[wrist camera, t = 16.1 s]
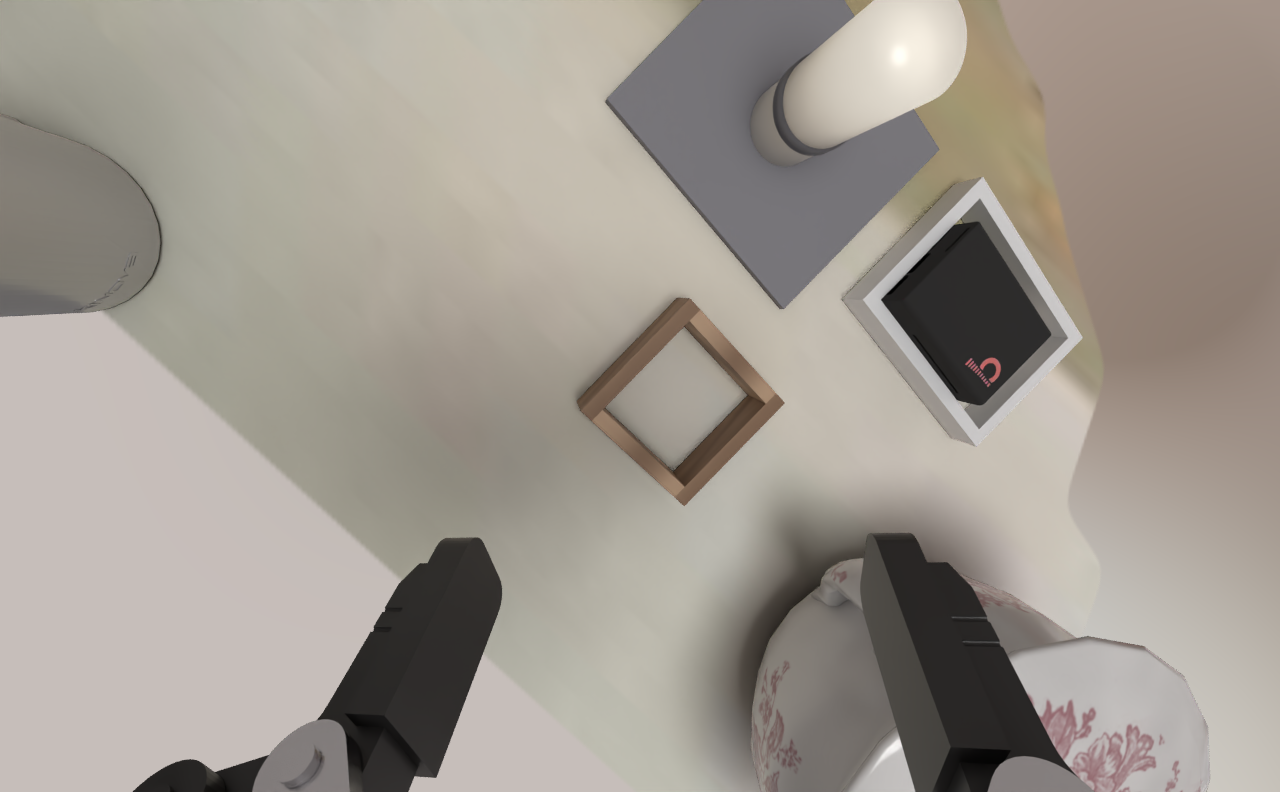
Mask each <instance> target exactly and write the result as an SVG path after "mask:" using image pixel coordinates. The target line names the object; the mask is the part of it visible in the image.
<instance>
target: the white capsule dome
mask: <svg viewBox="0 0 1280 792" xmlns="http://www.w3.org/2000/svg"><path fill="white" fill-rule="evenodd" d="M966 44H967V30H966V22H965V17H964V14H963V11H962V8H961V6H960V4H959V1H958V0H874V1H873V2H871V3H870V4H869V5H868V6H867V7H865V8H864V9H863V10H862V11H861V12H860V13H858V14H857V15H856V16H855V17H854V18H852V19H851V20H850V21H849V22H848V23H846V24H845V25H844V26H843V27H842V28H841V29H839V30H838V31H837V32H836V33H835V34H833V35H832V36H831V37H830V38H829V39H828V40H826V41H825V42H824V43H823V44H822V45H820V46H819V47H818V48H817V49H816V50H814V51H813V52H812V53H810V54H807V55H805V56H804V57H802V58H801V59H800V60H798V61H797V62H796V63H795V64H794V65H793V66H791V67H790V68H789V69H788V70H787V71H786V72H785V73H784V74H783V76H782V77H781V79H780V80H779V81H778V82H777V83H775V84H774V85H773V86H772V87H771V88H769V89H768V90H767V91H766V92H765V93H764V94H762V96H761V97H760V98H759V99H758V101H757V102H756V104H755V106H754V109H753V111H752V115H751V122H750V129H751V136H752V140H753V143H754V145H755V147H756V149H757V151H758V152H759V153H760V155H761V156H762V157H763V158H764V159H765V160H767V161H768V162H770V163H772V164H774V165H777V166H792V165H796V164H798V163H800V162H802V161H804V160H806V159H808V158H810V157H813V156H817V155H822V154H825V153H827V152H829V151H831V150H834V149H836V148H838V147H840V146H841V145H843V144H844V143H845V142H846V141H848V140H849V139H851V138H853V137H855V136H857V135H859V134H862V133H864V132H866V131H868V130H870V129H872V128H874V127H876V126H879V125H881V124H883V123H885V122H887V121H889V120H891V119H894V118H896V117H898V116H900V115H902V114H904V113H906V112H908V111H911V110H913V109H915V108H917V107H919V106H921V105H923V104H925V103H928V102H930V101H932V100H934V99H936V98H937V97H939V96H940V95H942V94H943V93H944V92H945V91H946V90H947V89H948V88H949V87H950V86H951V84H952V83H953V81H954V80H955V79H956V77H957V75H958V73H959V71H960V69H961V66H962V63H963V60H964V57H965V52H966Z"/></svg>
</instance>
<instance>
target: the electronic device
mask: <svg viewBox="0 0 1280 792" xmlns="http://www.w3.org/2000/svg"><path fill="white" fill-rule="evenodd" d="M881 301H882V302H883V304H884V305H885V306H886V307H887V309H888V310H889V311H890V313H891V314H892V315H893V317H894V318H895V319H896V321H897V322H898V323H899V325H900V326H901V327H902V329H903V330H904V331H905V332H906V334H907V335H908V336H909V338H910V339H911V340H912V342H913V343H914V344H915V346H916V347H917V348H918V350H919V351H920V352H921V354H922V355H923V356H924V358H925V359H926V360H927V361H928V363H929V364H930V365H931V367H932V368H933V369H934V371H935V372H936V373H937V375H938V376H939V377H940V379H941V380H942V381H943V383H944V384H945V385H946V386H947V388H948V389H949V390H950V392H951V393H952V394H953V396H954V397H955V398H956V400H959V401H963V402H966V403H970V404H974V405H979V406H980V405H983V404H985V403H986V402H987V401H988V400H989V399H990V398H991V397H992V396H993V395H994V394H995V393H996V391H997V390H998V389H999V388H1000V387H1001V386H1002V385H1003V384H1004V383H1005V382H1006V381H1007V380H1008V379H1009V378H1010V377H1011V376H1012V375H1013V374H1014V373H1015V372H1016V371H1017V370H1018V369H1019V368H1020V367H1021V366H1022V365H1023V364H1024V363H1025V362H1026V361H1027V360H1028V359H1029V358H1030V357H1031V356H1032V355H1033V354H1034V353H1035V352H1036V351H1037V350H1038V349H1039V348H1040V347H1041V346H1042V345H1043V344H1044V343H1045V342H1046V341H1047V339H1048V338H1049V337H1050V336H1051V332H1050V330H1049V329H1048V327H1047V326H1046V324H1045V323H1044V321H1043V320H1042V318H1041V316H1040V315H1039V313H1038V312H1037V310H1036V309H1035V307H1034V306H1033V304H1032V303H1031V301H1030V299H1029V298H1028V296H1027V295H1026V293H1025V292H1024V290H1023V289H1022V287H1021V285H1020V284H1019V282H1018V281H1017V279H1016V278H1015V276H1014V275H1013V273H1012V272H1011V270H1010V268H1009V267H1008V265H1007V264H1006V262H1005V261H1004V259H1003V258H1002V256H1001V254H1000V253H999V251H998V250H997V248H996V247H995V245H994V244H993V242H992V240H991V239H990V237H989V236H988V234H987V233H986V231H985V230H984V228H983V227H982V225H981V223H980V222H978V221H976V222H970V223H964V224H957V225H953V226H952V227H951V228H950V229H949V230H948V231H947V232H946V234H945V235H944V236H943V237H942V238H941V239H940V240H939V241H938V242H937V243H936V244H935V245H934V246H933V247H932V248H931V249H930V250H929V251H928V252H927V253H926V254H925V255H924V256H923V257H922V258H921V259H920V260H919V261H918V262H917V263H916V264H915V265H914V266H913V267H912V268H911V269H910V270H909V271H908V272H907V273H906V274H905V276H904V277H903V278H902V279H901V280H900V281H899V282H898V283H897V284H896V285H895V286H894V287H893V288H892V289H891V290H890V291H889V292H888V293H887V294H886V295H885V296H884V297H883V298H882V299H881Z"/></svg>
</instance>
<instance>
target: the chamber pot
mask: <svg viewBox="0 0 1280 792" xmlns="http://www.w3.org/2000/svg"><path fill="white" fill-rule="evenodd" d="M863 561H864V559H863V558H859V559H851V560H846V561H840V562H838V563H837V564H835V565H833V566H832V567H830V568H829V569H827V570H826V572H825V574H824V575H823V577H822V579H821V585H820V586H818V587H817V588H816V589H815V590H814V591H812V592H811V593H810V594H809V595H807V596H806V597H805V598H804V599H803V600H801V601H800V602H799V603H798V604H797V605H795V606H794V607H793V608H792V609H791V610H790V611H789V613H788V614H787V616H786V617H785V618H784V620H783V621H782V623H781V624H780V625H779V627H778V628H777V630H776V631H775V632H774V634H773V635H772V636H771V638H770V639H769V642H768V645H767V648H766V650H765V653H764V656H763V659H762V661H761V664H760V667H759V670H758V674H757V680H756V687H755V694H754V700H753V707H752V729H751V753H752V757H753V761H754V765H755V770H756V774H757V778H758V782H759V786H760V790H761V792H915V789H914V785H913V782H912V778H911V775H910V772H909V768H908V765H907V761H906V758H905V754H904V751H903V748H902V744H901V741H900V737H899V734H898V730H897V727H896V724H895V720H894V717H893V713H892V710H891V706H890V703H889V699H888V696H887V693H886V689H885V686H884V682H883V679H882V675H881V672H880V669H879V665H878V662H877V658H876V655H875V651H874V648H873V645H872V641H871V638H870V634H869V631H868V627H867V624H866V620H865V617H864V613H863V609H862V603H861V595H860V581H861V574H862V567H863ZM959 575H960V576H962V577H963V578H964V579H965V580H966V581H967V582H968V583H969V584H970V585H971V586H972V588H973V589H974V591H975V593H976V595H977V597H978V599H979V601H980V603H981V605H982V607H983V609H984V611H985V613H986V615H987V620H988V622H990V623H991V624H992V626H993V628H994V630H995V632H996V634H997V636H998V638H999V640H1000V645H1001V647H1003V648H1004V650H1005V652H1006V654H1007V656H1008V658H1009V659H1010V661H1011V663H1012V665H1013V667H1014V669H1015V671H1016V673H1017V675H1018V677H1019V679H1020V681H1021V683H1022V685H1023V687H1024V689H1025V691H1026V693H1027V694H1028V696H1029V698H1030V700H1031V702H1032V704H1033V706H1034V708H1035V710H1036V712H1037V714H1038V716H1039V718H1040V720H1041V722H1042V724H1043V726H1044V728H1045V729H1046V731H1047V733H1048V735H1049V737H1050V739H1051V741H1052V743H1053V745H1054V746H1055V748H1056V750H1057V752H1058V753H1059V755H1060V756H1061V757H1062V759H1063V760H1064V761H1065V763H1066V764H1067V765H1068V766H1069V768H1070V769H1071V770H1072V771H1073V772H1074V773H1075V774H1076V775H1077V776H1078V777H1079V778H1080V779H1081V780H1082V781H1083V782H1084V783H1086V784H1087V785H1088V786H1089V787H1090V788H1091V789H1092V790H1093V791H1095V792H1207V789H1208V785H1209V781H1210V762H1209V737H1208V726H1207V724H1206V721H1205V719H1204V717H1203V715H1202V713H1201V711H1200V709H1199V707H1198V705H1197V703H1196V700H1195V698H1194V696H1193V694H1192V692H1191V690H1190V688H1189V686H1188V684H1187V682H1186V679H1185V678H1184V676H1183V675H1182V674H1181V673H1179V672H1178V671H1177V670H1175V669H1174V668H1173V667H1171V666H1170V665H1169V664H1167V663H1166V662H1165V661H1163V660H1162V659H1161V658H1159V657H1158V656H1156V655H1155V654H1154V653H1152V652H1151V651H1150V650H1148V649H1147V648H1146V647H1144V646H1140V645H1134V644H1128V643H1123V642H1117V641H1111V640H1106V639H1100V638H1095V637H1089V636H1087V637H1081V638H1076V637H1074V636H1073V635H1072V634H1070V633H1069V632H1067V631H1066V630H1064V629H1063V628H1062V627H1060V626H1059V625H1057V624H1056V623H1054V622H1053V621H1052V620H1050V619H1049V618H1047V617H1046V616H1044V615H1043V614H1041V613H1039V612H1038V611H1036V610H1035V609H1033V608H1032V607H1030V606H1028V605H1027V604H1025V603H1024V602H1022V601H1020V600H1019V599H1017V598H1016V597H1014V596H1012V595H1011V594H1009V593H1006V592H1004V591H1001V590H999V589H996V588H994V587H991V586H989V585H986V584H984V583H981V582H979V581H976V580H974V579H971V578H969V577H966V576H964V575H961V574H959Z"/></svg>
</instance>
